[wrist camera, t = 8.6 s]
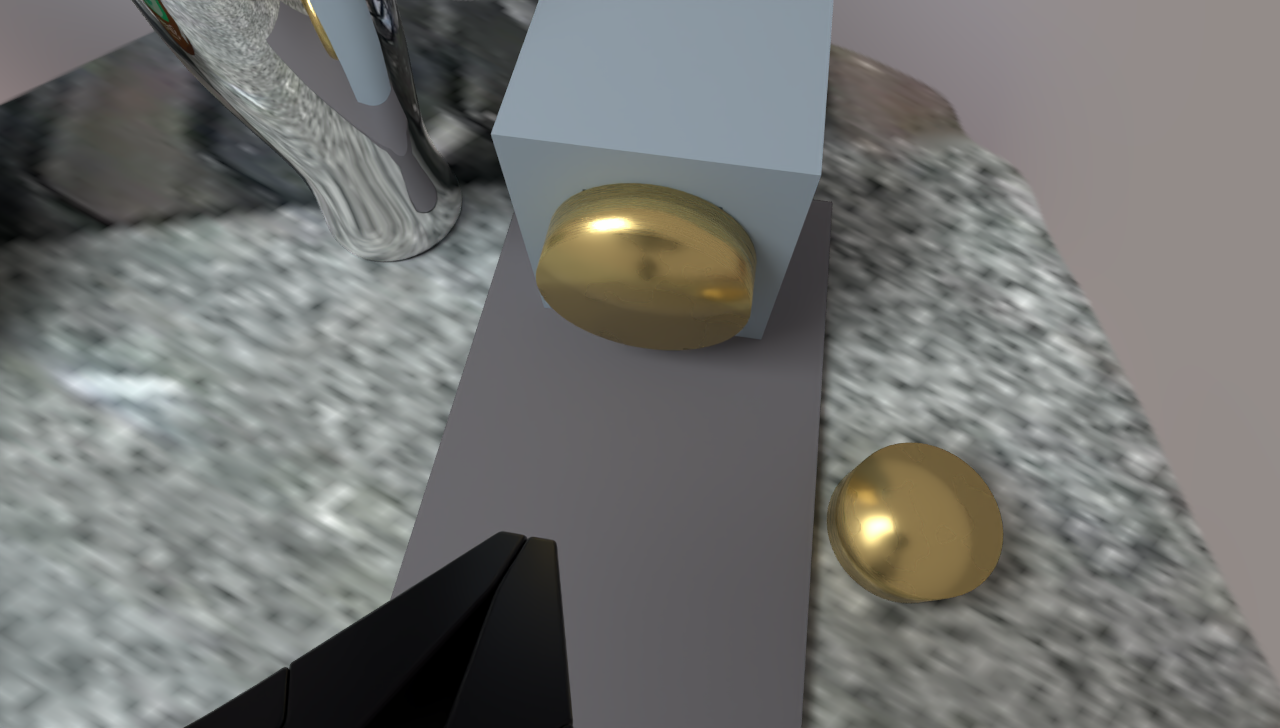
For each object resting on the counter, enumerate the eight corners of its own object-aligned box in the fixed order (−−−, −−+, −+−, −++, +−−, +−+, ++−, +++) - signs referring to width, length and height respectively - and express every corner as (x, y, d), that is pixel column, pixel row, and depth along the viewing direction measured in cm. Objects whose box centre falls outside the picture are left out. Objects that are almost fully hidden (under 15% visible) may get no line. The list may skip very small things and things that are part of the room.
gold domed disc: (996, 551, 22) (1036, 541, 20) (889, 633, 21) (919, 632, 19) (900, 438, 24) (927, 416, 22) (797, 508, 23) (814, 493, 21)
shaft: (736, 362, 23) (769, 253, 17) (552, 334, 24) (516, 218, 17) (771, 76, 29) (805, -84, 23) (623, 60, 30) (617, -101, 23)
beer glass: (427, 127, 31) (249, -291, 17) (500, 219, 28) (362, -181, 15) (295, 195, 29) (-20, -207, 15) (361, 299, 27) (58, -68, 13)
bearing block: (761, 339, 25) (821, 175, 16) (544, 307, 26) (490, 134, 17) (775, 202, 28) (833, -1, 19) (579, 176, 29) (549, -29, 20)
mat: (791, 849, 19) (793, 852, 18) (346, 753, 20) (340, 755, 19) (830, 207, 28) (832, 202, 28) (531, 169, 29) (529, 163, 29)
